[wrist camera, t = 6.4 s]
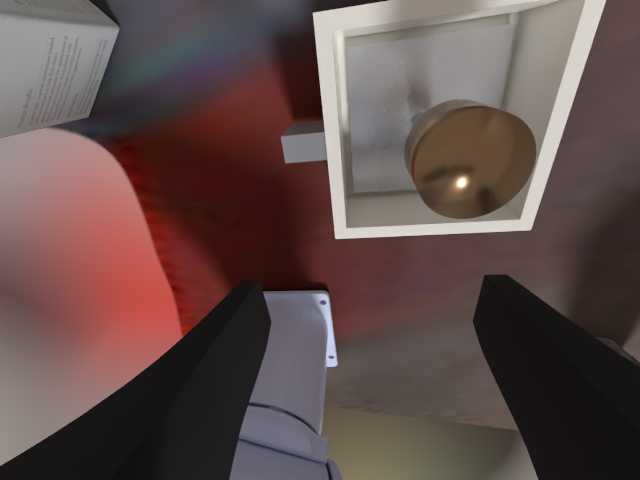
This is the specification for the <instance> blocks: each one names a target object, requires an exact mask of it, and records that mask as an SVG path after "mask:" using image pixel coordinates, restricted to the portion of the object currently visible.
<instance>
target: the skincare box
mask: <svg viewBox="0 0 640 480" xmlns="http://www.w3.org/2000/svg"><path fill="white" fill-rule="evenodd" d="M118 32H119V26H118V25H117V24H116V23H115V22H114V21H112V20H111V19H110V18H109V17H108V16H107V15H105V14H104V13H103V12H102V11H101V10H100V9H99V8H97V7H96V6H95V5H94V4H93V3H91V2H90V1H89V0H0V138H3V137H7V136H12V135H16V134H20V133H24V132H28V131H33V130H37V129H41V128H45V127H49V126H53V125H58V124H62V123H66V122H70V121H74V120H78V119H83V118H88V117H89V114H90V112H91V109H92V106H93V103H94V100H95V98H96V95H97V92H98V89H99V86H100V83H101V81H102V78H103V75H104V72H105V69H106V67H107V64H108V61H109V58H110V55H111V52H112V49H113V46H114V44H115V41H116V38H117V35H118Z"/></svg>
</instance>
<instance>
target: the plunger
mask: <svg viewBox="0 0 640 480" xmlns="http://www.w3.org/2000/svg"><path fill="white" fill-rule="evenodd" d="M515 26H516V23H514V24H507V25H500V26H493V27H486V28H479V29H472V30H465V31H458V32H451V33H444V34H437V35H430V36H423V37H416V38H409V39H402V40H395V41H387V42H380V43H373V44H366V45H359V46H352V47H346V60H347V78H348V96H349V115H350V133H351V152H352V170H353V188H354V193H360V192H375V191H389V190H404V189H417V190H418V192H419V194H420V196H421V198H422V200H423V201H424V203H425V204H426V205H427V206H428V207H429V208H430V209H431V210H433V211H434V212H436V213H438V214H439V215H442V216H445V217H449V218H454V219H470V218H476V217H480V216H483V215H486V214H489V213H491V212H493V211H495V210H497V209H499V208H501V207H502V206H504V205H505V204H507V203H508V202H509V201H510V200H512V199H513V198H514V197H515V196H516V195H517V194H518V193H519V192H520V191H521V189H522V188H523V187H524V185H525V184H526V182H527V181H528V179H529V177H530V175H531V173H532V171H533V168H534V165H535V161H536V152H537V150H536V142H535V138H534V135H533V133H532V131H531V129H530V128H529V127H528V125H527V124H526V123H525V122H524V121H523V120H522V119H520V118H519V117H517V116H515V115H513V114H511V113H508V112H505V111H503V110H500V109H499V105H500V100H501V95H502V90H503V85H504V80H505V75H506V70H507V65H508V60H509V55H510V50H511V46H512V41H513V36H514V31H515Z"/></svg>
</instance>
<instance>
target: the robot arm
mask: <svg viewBox="0 0 640 480" xmlns="http://www.w3.org/2000/svg"><path fill="white" fill-rule="evenodd" d="M322 300H324V301H322ZM473 324H474V327H475V330H476V333H477V337H478V340H479V343H480V346H481V349H482V352H483V354H484V356H485V358H486V361H487V363H488V365H489V367H490V369H491V371H492V374H493V376H494V378H495V380H496V382H497V384H498V386H499V389H500V391H501V393H502V395H503V397H504V399H505V401H506V403H507V405H508V408H509V410H510V412H511V414H512V416H513V418H514V420H515V422H516V424H517V427H518V429H519V431H520V433H521V436H522V438H523V440H524V443H525V445H526V447H527V450H528V452H529V455H530V458H531V460H532V463H533V466H534V469H535V471H536V474H537V477H538V480H640V367H639V366H638V365H636V364H634V363H633V362H631V361H630V360H628V359H627V358H625V357H624V356H622V355H621V354H619V353H618V352H616V351H614V350H613V349H611V348H610V347H608V346H607V345H605V344H604V343H602V342H601V341H599V340H598V339H596V338H595V337H593V336H592V335H590V334H589V333H587V332H586V331H585V330H583V329H582V328H580V327H579V326H577V325H576V324H574V323H573V322H572V321H570V320H569V319H567V318H566V317H565V316H563V315H562V314H560V313H559V312H558V311H556V310H555V309H553V308H552V307H551V306H549V305H548V304H547V303H545V302H544V301H542V300H541V299H540V298H538V297H537V296H536V295H534V294H533V293H532V292H530V291H529V290H527V289H526V288H525V287H523V286H522V285H521V284H519V283H518V282H516V281H515V280H514V279H512V278H511V277H509V276H508V275H485V276H484V280H483V283H482V287H481V291H480V295H479V299H478V303H477V307H476V311H475V315H474V318H473ZM337 364H338V359H337V351H336V344H335V336H334V329H333V321H332V313H331V306H330V298H329V293H328V292H327V291H324V290H313V291H263V290H262V286H261V283H260V280H243V281H241V282H240V283H239V284H238V285H237V286H236V287H235V288H234V289H233V290H232V291H231V292H230V293H229V294H228V295H227V296H226V297H225V298H224V299H223V300H222V301H221V302H220V303H219V304H218V305H217V306H216V307H215V308H214V309H213V310H212V311H211V312H210V313H209V314H208V315H207V316H206V317H205V318H204V319H202V320H201V321H200V322H199V323H198V324H197V325H196V326H195V327H194V328H193V329H192V330H191V331H190V332H188V333H187V334H186V335H185V336H184V337H183V338H182V339H181V340H180V341H179V342H177V343H176V344H175V345H174V346H173V347H172V348H171V349H169V350H168V351H167V352H166V353H165V354H164V355H162V356H161V357H160V358H159V359H158V360H156V361H155V362H154V363H153V364H151V365H150V366H149V367H148V368H146V369H145V370H144V371H143V372H141V373H140V374H139V375H137V376H136V377H135V378H134V379H132V380H131V381H130V382H128V383H127V384H126V385H124V386H123V387H122V388H120V389H119V390H117V391H116V392H114V393H113V394H111V395H110V396H109V397H107V398H106V399H104V400H103V401H101V402H100V403H99V404H97V405H96V406H94V407H93V408H92V409H90V410H89V411H87V412H86V413H84V414H83V415H82V416H80V417H79V418H77V419H75V420H74V421H72V422H71V423H69V424H68V425H66V426H65V427H63V428H62V429H60V430H58V431H57V432H55V433H54V434H52V435H51V436H49V437H48V438H46V439H44V440H43V441H41V442H39V443H38V444H36V445H35V446H33V447H31V448H30V449H28V450H26V451H25V452H23V453H21V454H20V455H18V456H16V457H15V458H13V459H12V460H10V461H8V462H6V463H5V464H3V465H1V466H0V480H342V477H341V473H340V471H339V468H338V466H337V464H336V463H335V462H334V461H333V460H331V459H329V458H327V452H328V439H327V438H324V437H322V436H320V433H321V428H322V418H323V407H324V395H325V383H326V371H327V367H334V366H336V365H337Z"/></svg>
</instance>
